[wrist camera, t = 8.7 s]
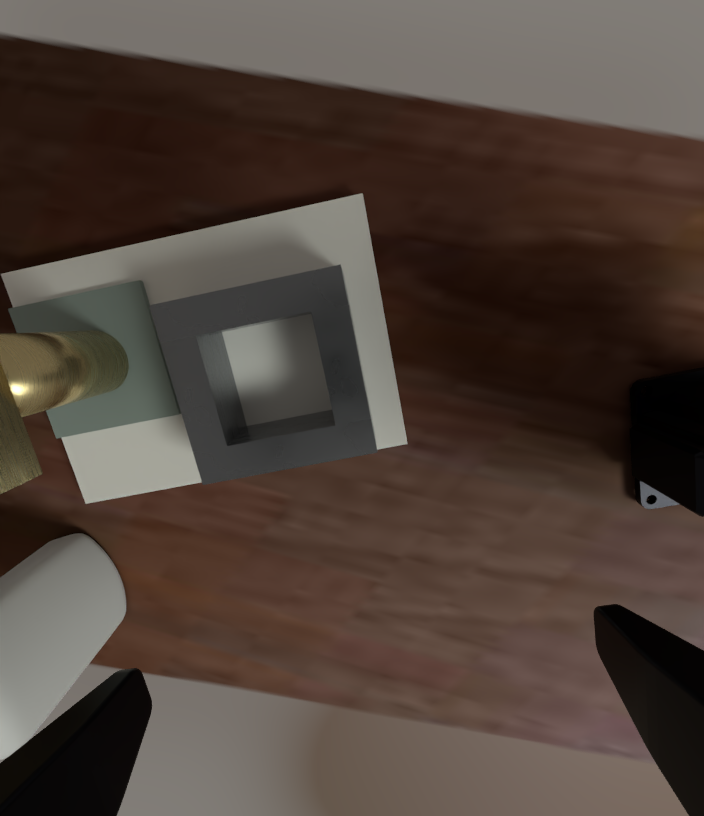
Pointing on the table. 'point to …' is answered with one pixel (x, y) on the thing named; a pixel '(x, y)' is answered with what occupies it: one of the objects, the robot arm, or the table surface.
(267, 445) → the grey square frame
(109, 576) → the eye dropper bottle
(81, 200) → the table surface
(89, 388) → the tan flat lever
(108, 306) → the mat
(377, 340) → the board
